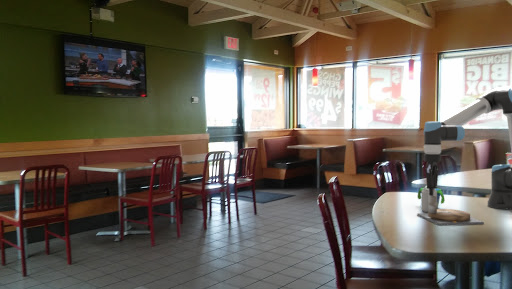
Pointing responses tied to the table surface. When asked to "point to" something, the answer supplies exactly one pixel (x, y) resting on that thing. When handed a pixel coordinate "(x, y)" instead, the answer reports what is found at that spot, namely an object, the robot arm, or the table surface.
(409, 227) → the table surface
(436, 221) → the dial base
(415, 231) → the table surface
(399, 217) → the table surface
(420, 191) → the snack cup
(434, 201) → the dial
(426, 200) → the can
